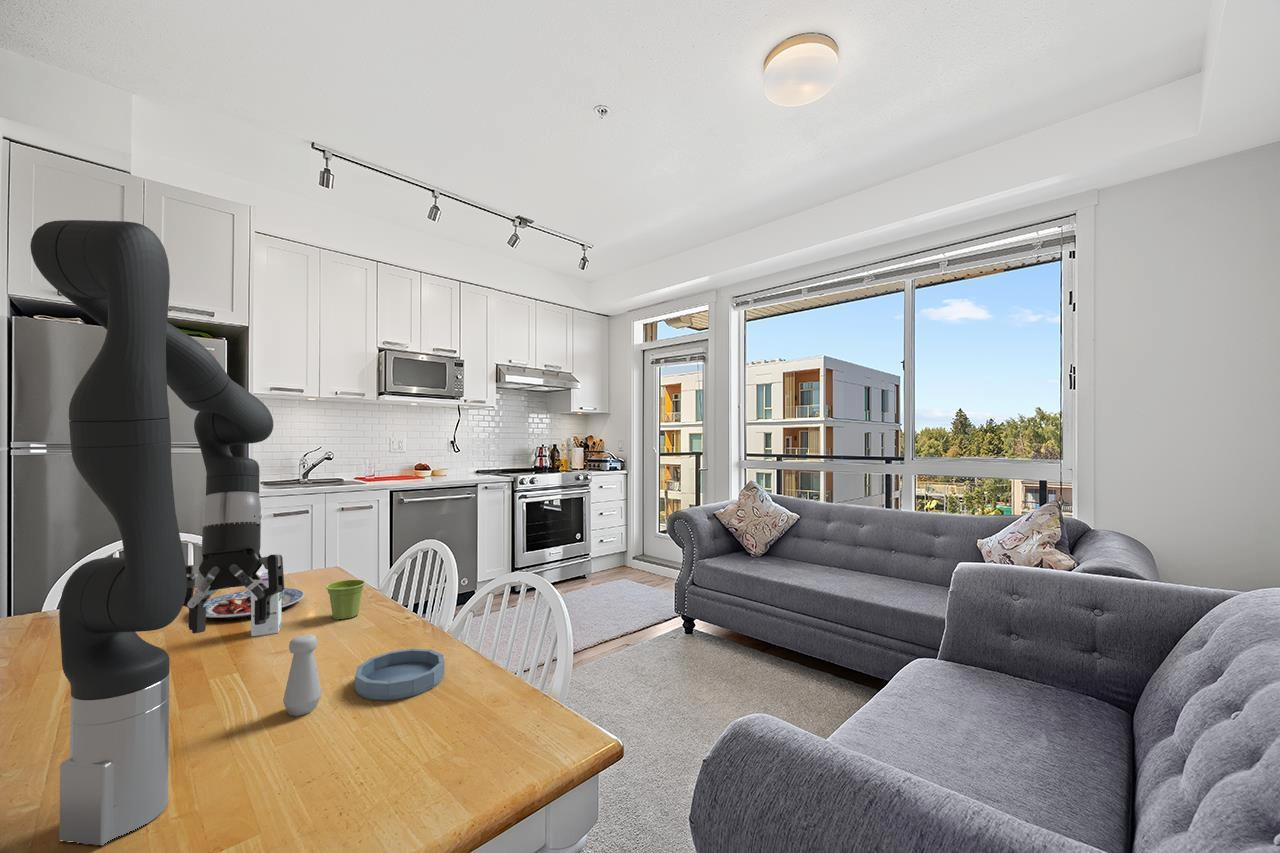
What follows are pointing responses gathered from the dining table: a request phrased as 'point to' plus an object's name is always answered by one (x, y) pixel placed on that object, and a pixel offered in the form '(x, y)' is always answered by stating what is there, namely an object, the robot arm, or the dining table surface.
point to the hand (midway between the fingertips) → (230, 628)
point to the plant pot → (345, 598)
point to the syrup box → (275, 612)
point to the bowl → (399, 674)
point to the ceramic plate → (243, 603)
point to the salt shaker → (302, 677)
